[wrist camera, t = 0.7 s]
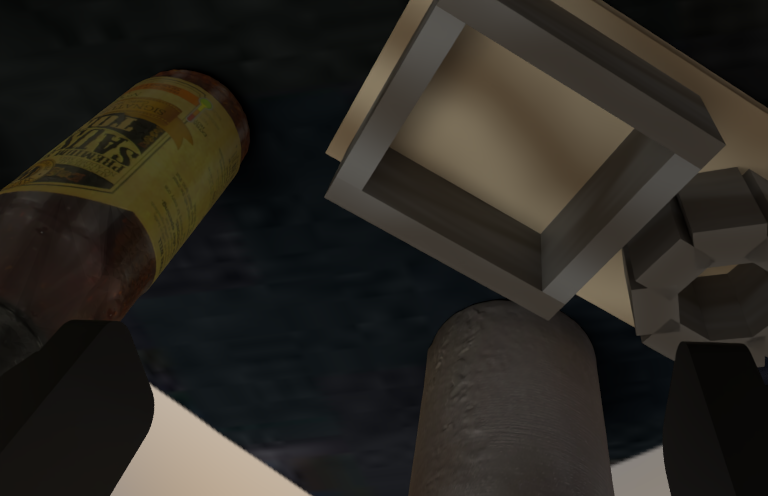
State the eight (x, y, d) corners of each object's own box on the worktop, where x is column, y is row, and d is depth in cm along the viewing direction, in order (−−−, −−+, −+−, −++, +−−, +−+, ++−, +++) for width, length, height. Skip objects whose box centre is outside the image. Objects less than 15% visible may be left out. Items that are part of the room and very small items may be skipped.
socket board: (460, -92, 26) (446, -63, 21) (900, 194, 30) (969, 271, 25) (331, 141, 33) (299, 201, 28) (699, 351, 36) (724, 433, 32)
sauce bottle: (218, 45, 31) (-107, 332, 15) (276, 160, 34) (57, 499, 18) (108, 84, 33) (-275, 371, 17) (172, 189, 36) (-104, 514, 20)
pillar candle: (495, 434, 43) (487, 688, 31) (395, 342, 40) (344, 587, 28) (630, 376, 39) (683, 649, 26) (530, 266, 35) (538, 521, 23)
